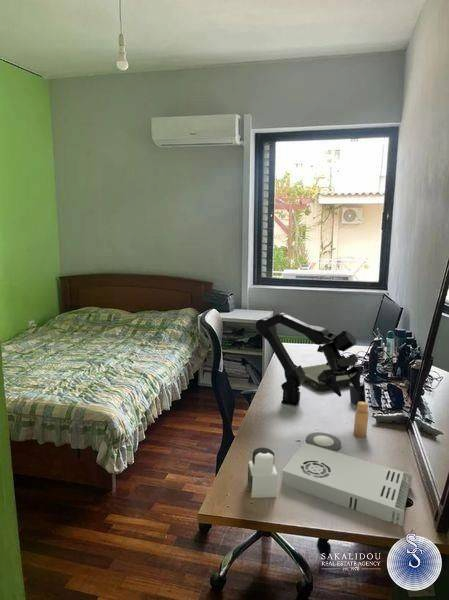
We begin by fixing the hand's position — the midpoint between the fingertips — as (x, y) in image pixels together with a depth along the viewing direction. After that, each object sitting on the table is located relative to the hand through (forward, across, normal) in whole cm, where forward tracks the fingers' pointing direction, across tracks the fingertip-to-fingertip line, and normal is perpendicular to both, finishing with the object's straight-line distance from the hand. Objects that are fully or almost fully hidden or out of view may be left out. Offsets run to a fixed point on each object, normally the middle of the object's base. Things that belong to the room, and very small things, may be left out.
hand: (350, 394), depth 158 cm
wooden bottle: (+14, 0, +4) cm, 14 cm away
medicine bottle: (+24, -50, -6) cm, 56 cm away
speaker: (-1, +18, +20) cm, 27 cm away
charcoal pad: (+14, -16, +4) cm, 22 cm away
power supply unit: (+30, -26, -11) cm, 41 cm away
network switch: (-20, +20, +38) cm, 47 cm away
